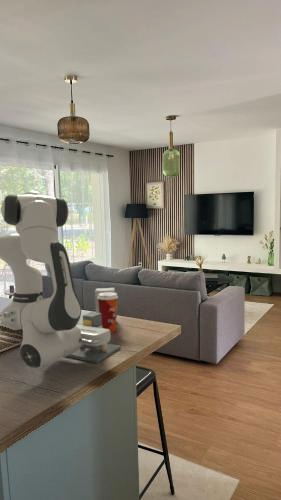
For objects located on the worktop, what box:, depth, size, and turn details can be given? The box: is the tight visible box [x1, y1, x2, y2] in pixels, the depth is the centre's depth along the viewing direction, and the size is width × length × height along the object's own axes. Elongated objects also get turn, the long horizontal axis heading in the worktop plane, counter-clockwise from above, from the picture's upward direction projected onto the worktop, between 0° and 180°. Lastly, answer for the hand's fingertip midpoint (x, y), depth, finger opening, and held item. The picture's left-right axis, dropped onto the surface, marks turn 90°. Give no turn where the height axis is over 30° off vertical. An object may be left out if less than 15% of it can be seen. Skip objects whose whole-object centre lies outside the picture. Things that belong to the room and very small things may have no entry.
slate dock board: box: [65, 342, 121, 364], centre depth 123 cm, size 13×14×4 cm
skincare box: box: [94, 287, 118, 321], centre depth 157 cm, size 8×6×15 cm
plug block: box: [82, 311, 102, 350], centre depth 122 cm, size 4×6×11 cm
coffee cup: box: [97, 292, 119, 334], centre depth 145 cm, size 8×8×15 cm
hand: (94, 326), depth 123 cm, fingers closed on plug block, 4 cm apart
